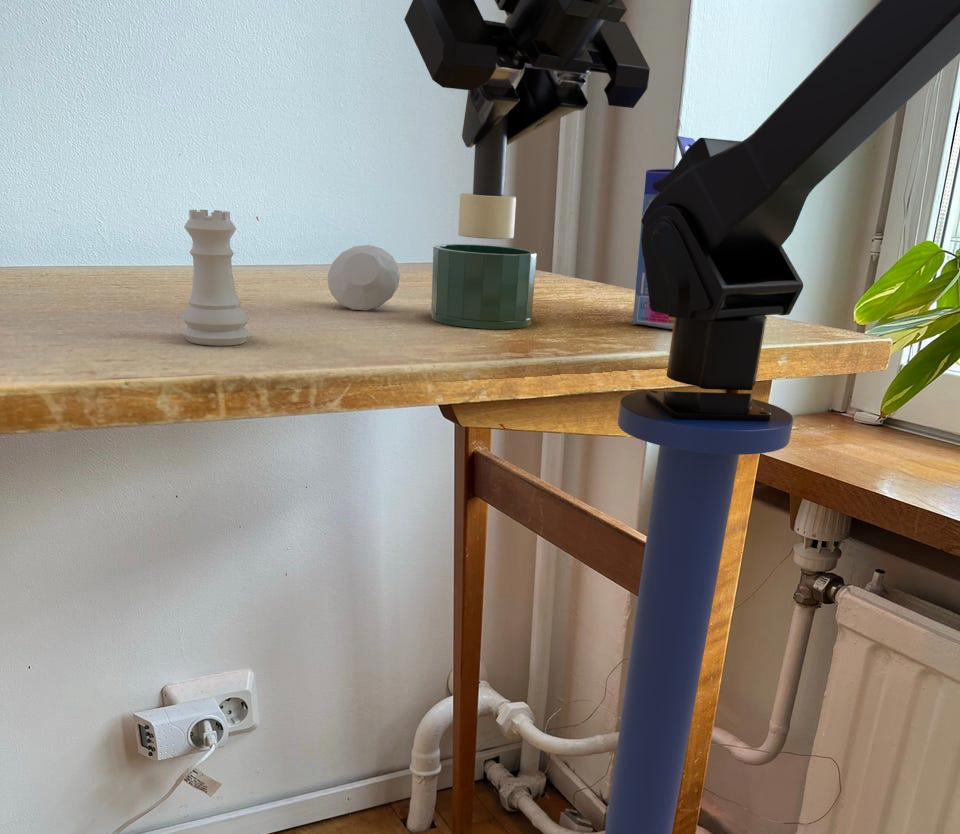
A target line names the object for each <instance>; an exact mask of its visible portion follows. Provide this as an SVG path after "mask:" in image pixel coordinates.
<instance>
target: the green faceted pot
mask: <svg viewBox="0 0 960 834" xmlns="http://www.w3.org/2000/svg"><path fill="white" fill-rule="evenodd" d="M537 256H538V253H537V251H534V250H531V249H528V248H527V249H526V248H520V247H513V246H512V247H511V246H503V245H490V244H474V243H473V244H471V243H443V244H442V243H441V244H435V245H434V246H433V249H432V275H431V277H432V278H431V279H432V281H431V308H430V310H431V311H430V312H431V319H432V320H433V321H434V322H437V323H440V324H444V325H448V326H453V327H461V328H470V329H480V330H481V329H482V330H483V329H484V330H514V329H522V328H527V327H529V326H531V325H532V317H533V306H534V305H533V304H534V294H535V283H536V282H535V281H536V280H535V279H536V268H537Z"/></svg>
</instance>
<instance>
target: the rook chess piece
mask: <svg viewBox="0 0 960 834" xmlns="http://www.w3.org/2000/svg"><path fill="white" fill-rule="evenodd" d="M188 216H189V218H188V219H187V221H186V223H185V224H184V226H183V228H184V229H185V230H186V232H187V234H188V235H189V236H190V237H191V240H192V245H191V247H192V248H190V250H189V254H190V255H191V257H192V263H193V274H192V275H193V276H192V288H191V295H190V299H188V300H187V304H188V307H187V308H186V309H185V310H184V311H183V313H182V319H181V320H182V321H183V322H184V324H186V326H187V327H186V328H185V329H184V330H183V331H182V335H183V336H184V338H185V339H186V340H187V341H188V342H190V343H191V344H195V345H200V346H201V345H203V346H217V347H218V346H219V347H220V346H221V347H222V346H223V347H224V346H236V345H241V344H242V345H243V344H244V343H246V342H247V341H248V339H249V337H250V336H251V332H250V331H249V330H248V329H247V328H245V327H246V325H247V324H248V323H249V319H250V318H249V316H248V313H247V312H246V310H245V309H243V307H242V306H241V305H242V301H241V300H240V299H239V297H238V294H237V290H236V285H235V279H234V273H233V266H232V257H233V256H234V254H235V252H234V251H233V250H232V247H231V238H232V237H233V236H234V234H235V232H236V230H237V227H236V225H235V224H234V223H233V221H231V212H230V211H228V210H227V211H224V210H218V209H217V210H216V209H215V210H213V211H211V212H210V215H209V210H208V209H199V211H198V209H189V210H188Z"/></svg>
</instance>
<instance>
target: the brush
mask: <svg viewBox="0 0 960 834" xmlns="http://www.w3.org/2000/svg"><path fill="white" fill-rule="evenodd" d="M507 128H508V113H507V114H506V115H505V116H504V117H503V118H502V119H501V120H500V121H499V122H498V123H497V124H496V125H495V126H494V127H493V128H492V129H491V130H490V131H489V132H488V133H487V134H486V135H485V136H484V137H483V138H482V139H481V140H480V141H479V142H477V143H476V144H475V145H474V158H473V159H474V160H473V181H472V192H471V193H469V192H468V193H467V192H465V193H464V192H462V193H460V194H459V208H458V229H457V230H458V232H457V235H458V236H460V237H465V238H472V239H473V238H475V239H486V240H487V239H489V240H490V239H491V240H512V239H514V238H515V223H516V222H515V221H516V209H517V208H516V207H517V197H516V196H514V195H505V177H506V162H507V161H506V159H507V146H508V145H507ZM506 145H507V146H506Z"/></svg>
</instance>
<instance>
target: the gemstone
mask: <svg viewBox="0 0 960 834" xmlns="http://www.w3.org/2000/svg"><path fill="white" fill-rule="evenodd" d="M400 279H401V272H400V267H399V265H398V262H397V261H396V259H395V258H394V256H393V255H392V254H390V253H389V252H387V251H386V250H385V249H384V248H382V247H378V246H375V245H370V244H364V245H355V246H352V247H350V248H348V249H346V250H344V251H342V252H341V253H340V254H339V255H338V256H337V257H336V258H335V259H334V260H333V261H332V263H331V265H330V267H329V271H328V273H327V286H328V288H329V292H330V294H331V296H332V297H333V299H335V300H336V302H337V303H339V305H341V306H344V307H346V308H348V309H350V310H351V311H353V310H354V311H355V310H358V311H359V310H360V311H366V312H367V311H369V310H371V309H376V308H380V307H381V306H383V305H384V304H385V303H386V302H388V301H389V300H391V299H392V298H393V296H394V295H395V293H396V292H397V289H398V288H399V286H400Z"/></svg>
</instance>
